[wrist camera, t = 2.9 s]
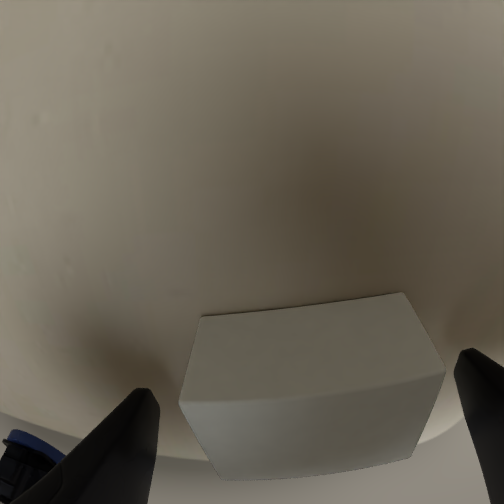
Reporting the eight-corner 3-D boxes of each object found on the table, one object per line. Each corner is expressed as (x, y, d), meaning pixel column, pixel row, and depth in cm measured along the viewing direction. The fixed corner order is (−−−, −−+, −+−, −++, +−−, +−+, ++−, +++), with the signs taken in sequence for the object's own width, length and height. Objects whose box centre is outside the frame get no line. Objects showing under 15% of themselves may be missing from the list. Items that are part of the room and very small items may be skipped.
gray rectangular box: (388, 386, 10) (410, 458, 7) (229, 405, 10) (220, 481, 8) (403, 290, 8) (449, 369, 5) (199, 315, 9) (175, 403, 6)
